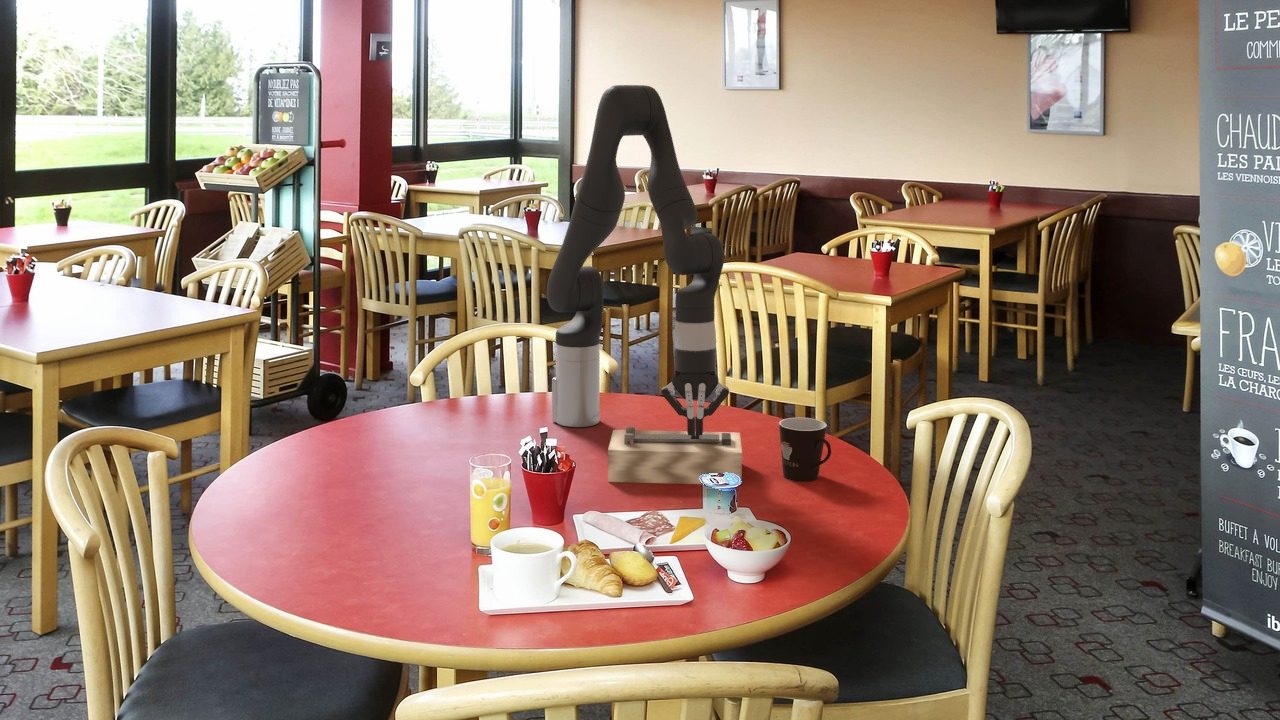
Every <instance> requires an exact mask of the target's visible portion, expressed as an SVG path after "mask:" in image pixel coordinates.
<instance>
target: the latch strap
mask: <svg viewBox="0 0 1280 720" xmlns="http://www.w3.org/2000/svg"><path fill="white" fill-rule="evenodd" d="M633 442H719V435H706V434H702V435H699V438H691V435H688V434H634V435H633Z"/></svg>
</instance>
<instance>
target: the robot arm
mask: <svg viewBox="0 0 1280 720" xmlns="http://www.w3.org/2000/svg"><path fill="white" fill-rule="evenodd" d="M662 100H663V99H662V98H661V96H660V94H659V93H658V91H657V90H656V89H655V88H654V87H652V86H649V85H643V84H618V85H617V84H615V85H611V86H609V87H607V88H606V89H605V90H604V92H603V93H602V94H601V98H600V101H599V103H598V106H597V111H596V116H595V122H594V127H593V131H592V138H591V143H590V148H589V152H588V155H587V160H586V164H585V167H584V168H585V169H584V172H583V176H582V177H581V182H580V185H579V187H578V190H577V194H576V196H575V201H574V205H573V208H572V212H571V216H570V219H569V222H568V223H569V224H568V226H567V229H566V232H565V236H564V239H563V241H562V244H561V246H560V249H559V252H558V254H557V256H556V259H555V260H554V263H553V266H552V269H551V271H550V273H549V275H548V276H549V277H548V280H547V284H546V286H547V287H546V299H547V304H548V306H549V307H550V308H551V309H552V310H553V311H555V312H557V313H575V315H574V316H573V318H572V319H571V320H570V321H569V322H567V323H566V324H563V325H562V326H560V327H558V328H557V330H556V332H555V376H554V377H553V378H552V379H551V399H552V400H551V405H552V406H551V407H552V409H551V414H552V415H551V416H552V417H551V418H552V419H551V420H552V421H551V422H553V423H557V424H558V425H560V426H562V427H563V426H564V427H570V428H586V427H592V426H595V425H597V424H599V423H600V413H601V412H600V381H601V378H600V375H601V374H600V362H601V360H600V358H601V357H600V353H601V352H600V348H601V347H600V338H601V333H602V331H603V330H602V329H603V314H604V299H605V298H604V294H605V293H604V291H605V290H604V287H605V286H604V281H603V276H602V275H601V273H600V271H599V270H598V268H597V267H594V266H591V265H589V266H587V265H585V266H584V264H585V262H586V261H587V259H588V258H589V257H590V256H591V255H592V254H593V252H595V251H596V249H598V248H599V247H600V245H602V244H603V243H604V242H605V241H606V239H607V238H608V237H609V236H610V235H611V234H612V232H613V231H614V230H615V228H616V226H617V224H618V222H619V220H620V216H621V213H622V209H623V206H624V203H625V199H626V192H625V187H624V182H623V180H622V176H621V173H620V172H619V169H618V166H617V165H618V164H617V154H618V150H619V146H620V142H621V141H622V138H623V137H626V136H627V137H628V136H630V137H632V136H643V138H644V140H645V141H646V143H647V146H648V147H649V149H650V150H649V151H650V154H651V155H650V156H651V157H650V158H651V159H650V165H649V166H650V167H649V171H648V175H647V176H648V177H647V191H648V197H649V199H650V202H651V204H652V207H653V209H654V212H655V214H656V217H657V219H658V221H659V223H660V229H661V231H660V232H661V237H662V243H663V244H662V245H663V255H664V260H665V262H666V264H667V266H668V268H669V269H670V270H671V271H672V272H673V273H675V274H677V275H679V276H688V275H689V276H690V275H693V278H692V281H691V282H690V283H689V284H688V285H686V286H684V287H681V288H679V289H678V290H677V291H676V293H675V302H674V303H675V324H674V333H673V334H674V336H673V337H674V338H673V342H674V343H673V344H674V346H673V349H674V350H673V351H674V362H673V364H674V373H673V375H672V377H671V382H669V384H667V385H664V386H662V388H661V391H660V393H661V395H662V397H663V398H664V399H665V400H666V401H667V403H668V404H669V405H670V406H671V408H672V409H673V410H674V411H675V412H676V414H677V415H678V416H680V417H681V416H683V417H685V418H686V422H687V423H686V424H687V427H686V428H687V430H686V431H687V433H688V435H691V438H699V435H702V434H703V432H704V418H705V417H708V416H709V417H710V416H713V414H715V412H716V411H717V409H718V408H719V407H720V406H721V404H722V403H723V402H724V401H725V400H726V398H727V397H728V396H729V394H730V388H729V387H728V386H727V385H724V384H722V383H721V382H720V381H719V376H718V375H717V359H716V358H717V332H716V322H715V315H716V314H715V308H716V307H715V306H716V305H715V298H716V293H717V290H718V287H719V282H720V278H721V275H722V270H723V267H724V263H725V250H724V246H723V244H722V242H721V240H720V238H719V237H718V236H717V235H715V234H714V233H709V232H708V233H707V232H706V233H695V234H687V232H686V230H687V229H689V228H691V227H692V226H693V225H694V224H695V223H696V222H697V220H698V217H699V215H698V210H697V206H696V204H695V203H694V200H693V197H692V195H691V192H690V191H689V188H688V186H687V184H686V182H685V180H684V176H683V174H682V171H681V169H680V165H679V162H678V158H677V154H676V149H675V145H674V140H673V137H672V132H671V129H670V125H669V120H668V118H667V113H666V110H665V107H664V103H663V101H662ZM715 389H716V390H715ZM675 390H676V391H677V392H678V393H679V395H680V396H681V397H682V398H683V399H684V400H685V404H686V407H684V406H683V404H681V403H680V400H678V399H677V397H676V396H675V394H676V391H675ZM714 390H715V395H716V396H715V397H714V398H713V400H712V401H710V403H709V405H708V406H707V407H705V401H706V400H707V399H708V398H709V397H710V396H711V394H712V393H713V391H714ZM695 400H696V401H697V403H696V412H695V408H694V401H695ZM695 413H696V414H695Z"/></svg>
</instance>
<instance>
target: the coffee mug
mask: <svg viewBox="0 0 1280 720" xmlns="http://www.w3.org/2000/svg"><path fill="white" fill-rule="evenodd" d="M827 425H828V424H827V423H826V422H825V421H822V420H820V419H816V418H810V417H788V418H784V419H781V420H780V421H779V422H778V427H779V439H780V441H779V442H780V451H781V452H780V454H781V465H782V476H783V478H785V479H786V480H788V481H793V482H797V483H806V482H814V481H816V480H818V478H819V474H820V469H821V465H822V464H825V463H826V462H827V461H828V460H829V459H830V458H831V455H832V448H831V444H830V442H829V441H828V439H826V433H827ZM824 444H825V445H826V449H827V454H826V456H825V457H824V459H822V457H823V456H822V455H823V450H824Z"/></svg>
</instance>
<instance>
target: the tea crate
mask: <svg viewBox="0 0 1280 720" xmlns="http://www.w3.org/2000/svg"><path fill="white" fill-rule="evenodd" d="M634 434H688V433H687V430H686V431H685V430H642V429H641V430H640V429H636V426H629V425H628V426H627V425H626V426H625V429H613V430H612V433H611V437H610V440H609V441H610V442H609V445H608V448H607V449H608V450H607V482H608V483H636V484H638V483H639V484H641V483H643V484H644V483H645V484H680V485H681V484H683V485H702V484H701V483H700V480H699V476H700V475H702V474H709V473H725V472H728V473H734V474H736V475H738V476H739V477H740V478H741V479H742V468H743V465H742V464H743V450H742V449H743V448H742V440H741V432H734V431H733V432H731V431H730V432H727V431H703V434H706V435H719V442H633V435H634Z"/></svg>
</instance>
